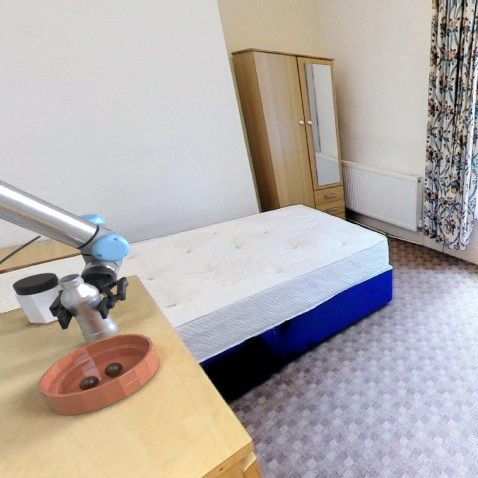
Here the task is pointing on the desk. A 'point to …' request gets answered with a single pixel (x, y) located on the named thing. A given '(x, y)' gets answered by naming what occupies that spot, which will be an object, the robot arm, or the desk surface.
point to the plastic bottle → (86, 308)
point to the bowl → (99, 374)
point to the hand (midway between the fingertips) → (83, 319)
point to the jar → (37, 296)
